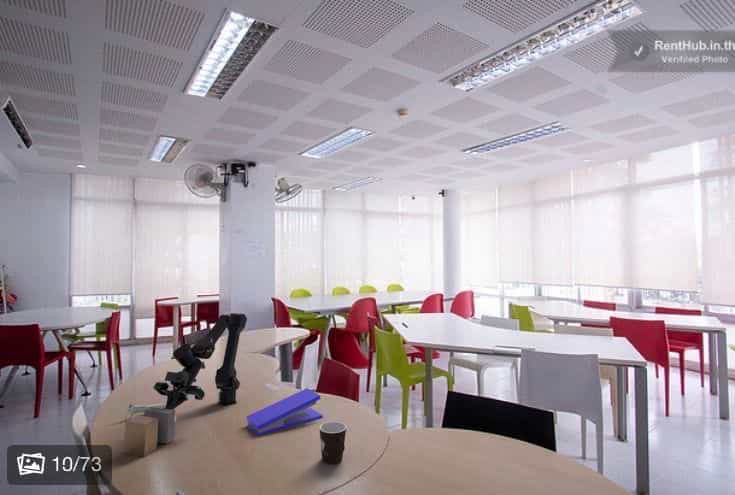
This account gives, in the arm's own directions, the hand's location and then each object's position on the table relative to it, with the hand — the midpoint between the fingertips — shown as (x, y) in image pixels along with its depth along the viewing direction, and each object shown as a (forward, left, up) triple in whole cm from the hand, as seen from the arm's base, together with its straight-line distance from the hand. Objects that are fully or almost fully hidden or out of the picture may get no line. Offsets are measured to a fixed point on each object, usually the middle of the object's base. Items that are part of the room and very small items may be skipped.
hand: (166, 413), depth 133 cm
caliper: (+1, -28, -9) cm, 30 cm away
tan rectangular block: (+3, +3, -8) cm, 10 cm away
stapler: (-41, +10, -9) cm, 43 cm away
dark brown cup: (-41, +47, -9) cm, 63 cm away
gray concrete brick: (+2, +2, -8) cm, 9 cm away
